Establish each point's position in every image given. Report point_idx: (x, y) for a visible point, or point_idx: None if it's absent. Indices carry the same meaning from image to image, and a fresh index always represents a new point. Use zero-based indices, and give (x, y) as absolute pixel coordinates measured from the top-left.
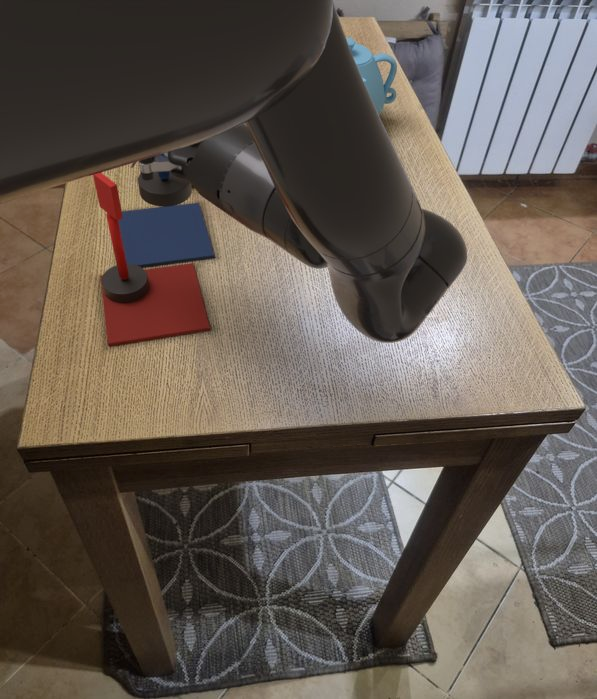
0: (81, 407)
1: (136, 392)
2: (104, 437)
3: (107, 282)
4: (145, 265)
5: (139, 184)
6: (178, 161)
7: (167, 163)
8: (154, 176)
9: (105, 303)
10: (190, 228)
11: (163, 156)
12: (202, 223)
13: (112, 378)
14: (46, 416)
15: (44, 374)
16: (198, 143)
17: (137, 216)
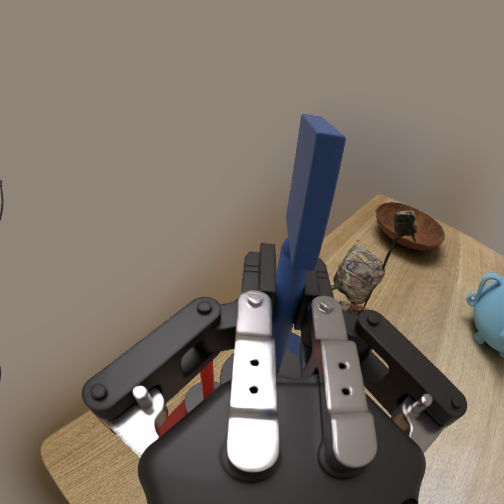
0: (77, 465)
1: (117, 498)
2: (67, 497)
3: (193, 393)
4: None
5: (224, 364)
6: (143, 487)
7: (138, 454)
8: None
9: (179, 407)
10: None
11: (151, 428)
12: None
13: (115, 470)
14: (58, 445)
15: (87, 418)
16: (257, 480)
17: (289, 341)
